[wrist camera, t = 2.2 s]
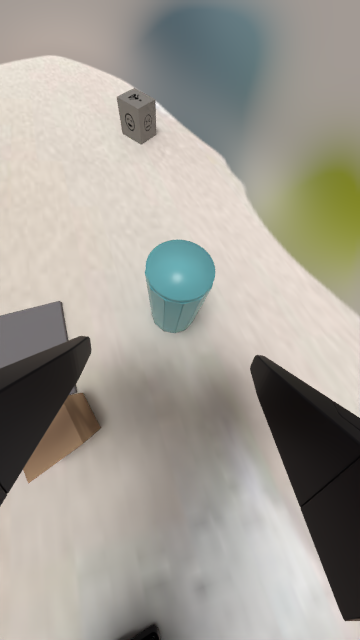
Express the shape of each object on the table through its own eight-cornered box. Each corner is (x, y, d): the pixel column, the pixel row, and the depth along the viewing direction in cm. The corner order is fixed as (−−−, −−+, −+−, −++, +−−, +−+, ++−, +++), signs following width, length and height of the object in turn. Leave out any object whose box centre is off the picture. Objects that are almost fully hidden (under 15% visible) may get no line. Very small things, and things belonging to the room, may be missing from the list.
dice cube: (138, 124, 37) (134, 88, 32) (156, 135, 36) (155, 99, 32) (122, 134, 35) (116, 96, 31) (141, 144, 35) (138, 108, 30)
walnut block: (101, 427, 19) (82, 443, 14) (60, 457, 18) (28, 483, 13) (82, 392, 20) (61, 397, 15) (43, 417, 18) (8, 430, 14)
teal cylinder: (199, 325, 24) (226, 288, 14) (159, 338, 22) (158, 308, 13) (185, 289, 25) (200, 234, 15) (147, 300, 24) (137, 247, 14)
